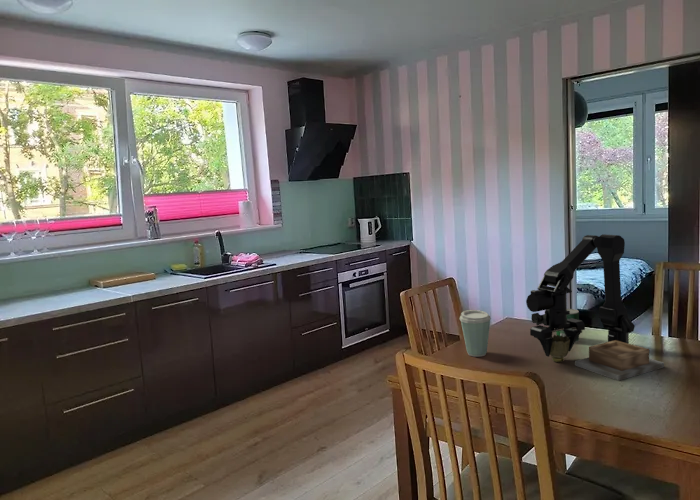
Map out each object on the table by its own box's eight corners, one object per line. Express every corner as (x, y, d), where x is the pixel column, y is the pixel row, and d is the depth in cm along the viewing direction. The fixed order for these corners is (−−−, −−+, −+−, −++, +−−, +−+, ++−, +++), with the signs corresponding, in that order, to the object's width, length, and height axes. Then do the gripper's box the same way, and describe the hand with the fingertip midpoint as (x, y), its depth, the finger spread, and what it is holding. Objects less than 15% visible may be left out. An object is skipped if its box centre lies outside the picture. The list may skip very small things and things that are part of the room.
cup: (572, 365, 172) (572, 340, 171) (548, 364, 173) (547, 341, 172) (567, 357, 179) (567, 334, 178) (544, 357, 180) (544, 334, 179)
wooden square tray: (618, 353, 179) (618, 336, 178) (663, 367, 165) (664, 348, 164) (574, 365, 171) (574, 347, 170) (618, 380, 156) (618, 360, 156)
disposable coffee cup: (497, 352, 188) (496, 311, 187) (482, 361, 181) (480, 318, 179) (471, 347, 196) (469, 307, 194) (455, 355, 188) (453, 314, 186)
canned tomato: (554, 337, 202) (553, 308, 201) (575, 336, 201) (575, 308, 200) (559, 343, 194) (558, 313, 193) (581, 342, 193) (581, 313, 192)
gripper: (559, 299, 185) (560, 342, 187) (517, 307, 177) (519, 352, 179) (585, 304, 175) (586, 350, 177) (542, 313, 167) (543, 361, 169)
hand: (558, 353), depth 176 cm, fingers open, 9 cm apart
